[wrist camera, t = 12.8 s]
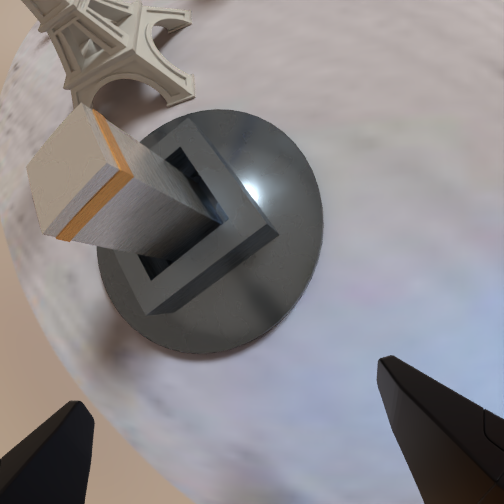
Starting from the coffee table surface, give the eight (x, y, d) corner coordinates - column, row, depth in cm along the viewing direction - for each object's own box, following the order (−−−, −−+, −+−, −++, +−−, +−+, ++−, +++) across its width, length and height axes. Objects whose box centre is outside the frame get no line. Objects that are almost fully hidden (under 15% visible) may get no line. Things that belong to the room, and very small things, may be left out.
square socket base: (378, 251, 19) (388, 240, 15) (169, 391, 22) (135, 408, 18) (230, 79, 24) (210, 46, 20) (80, 211, 27) (45, 200, 23)
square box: (228, 227, 21) (107, 163, 10) (181, 263, 22) (42, 236, 11) (198, 183, 22) (81, 101, 11) (156, 218, 23) (25, 166, 12)
